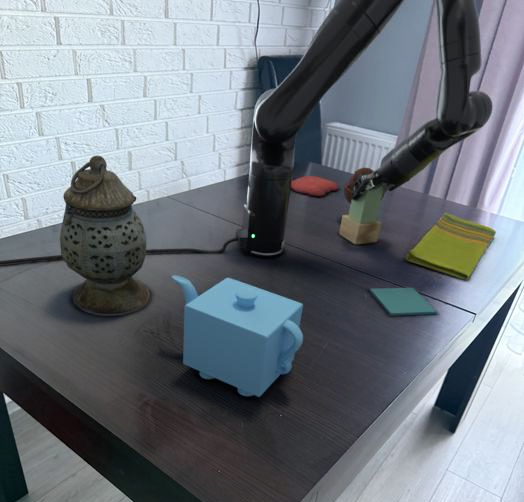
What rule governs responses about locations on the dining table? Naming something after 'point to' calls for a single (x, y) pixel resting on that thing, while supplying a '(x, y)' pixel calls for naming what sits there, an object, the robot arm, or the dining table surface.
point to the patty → (313, 186)
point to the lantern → (103, 241)
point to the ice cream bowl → (349, 186)
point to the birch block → (359, 230)
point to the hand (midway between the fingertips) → (361, 196)
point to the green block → (366, 206)
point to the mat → (402, 301)
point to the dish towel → (452, 246)
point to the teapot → (240, 334)
